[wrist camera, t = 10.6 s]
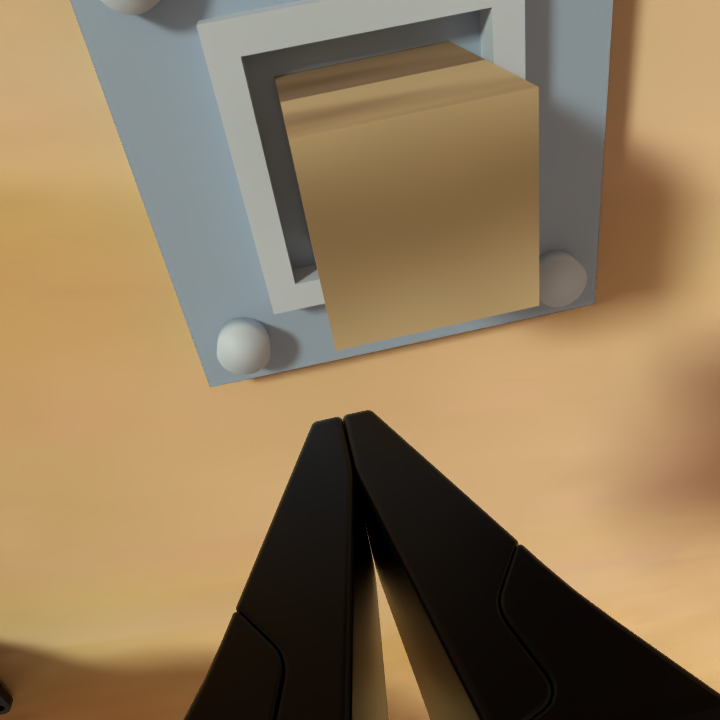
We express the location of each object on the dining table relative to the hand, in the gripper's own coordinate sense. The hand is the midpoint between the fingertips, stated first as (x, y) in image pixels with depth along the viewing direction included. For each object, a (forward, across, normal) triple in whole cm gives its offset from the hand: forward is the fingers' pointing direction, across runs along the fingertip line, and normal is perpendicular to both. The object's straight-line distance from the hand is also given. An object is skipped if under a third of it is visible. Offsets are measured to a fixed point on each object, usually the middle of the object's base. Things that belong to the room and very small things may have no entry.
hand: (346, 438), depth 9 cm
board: (+12, -3, -1) cm, 12 cm away
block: (+10, -2, -1) cm, 11 cm away
